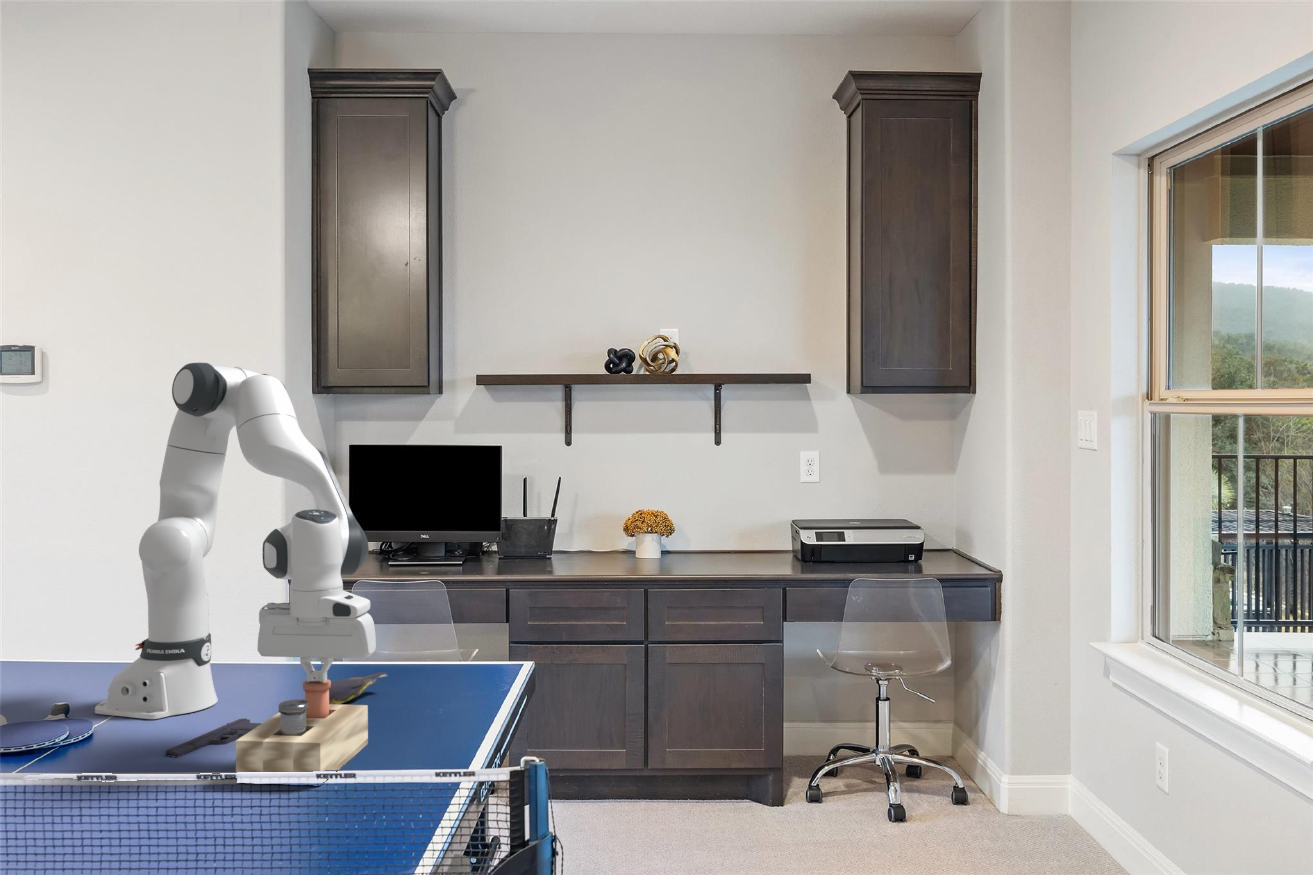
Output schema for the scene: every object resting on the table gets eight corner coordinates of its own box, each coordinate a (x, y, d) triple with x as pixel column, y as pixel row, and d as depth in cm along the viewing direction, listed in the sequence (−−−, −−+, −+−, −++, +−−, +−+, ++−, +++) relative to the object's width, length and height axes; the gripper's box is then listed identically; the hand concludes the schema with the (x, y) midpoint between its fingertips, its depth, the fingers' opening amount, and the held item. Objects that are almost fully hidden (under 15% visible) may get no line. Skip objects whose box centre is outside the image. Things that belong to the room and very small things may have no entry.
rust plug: (298, 742, 164) (298, 685, 163) (310, 734, 168) (309, 678, 168) (324, 743, 163) (324, 686, 163) (335, 734, 168) (335, 678, 168)
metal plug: (273, 768, 155) (273, 707, 154) (286, 758, 159) (286, 699, 159) (300, 768, 154) (300, 708, 154) (313, 758, 159) (312, 699, 159)
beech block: (236, 783, 152) (235, 740, 152) (293, 741, 172) (292, 703, 172) (320, 786, 151) (320, 742, 151) (367, 743, 171) (367, 705, 171)
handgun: (288, 733, 178) (237, 726, 182) (288, 721, 178) (237, 715, 181) (217, 767, 161) (162, 759, 165) (217, 755, 161) (161, 747, 165)
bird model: (296, 711, 189) (296, 687, 189) (377, 689, 205) (377, 666, 205) (311, 716, 186) (311, 691, 186) (392, 693, 202) (392, 670, 202)
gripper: (250, 605, 163) (250, 685, 163) (365, 607, 161) (365, 688, 162) (267, 598, 169) (268, 675, 170) (379, 600, 168) (379, 678, 168)
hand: (316, 681), depth 166 cm, fingers closed, pressing on rust plug
